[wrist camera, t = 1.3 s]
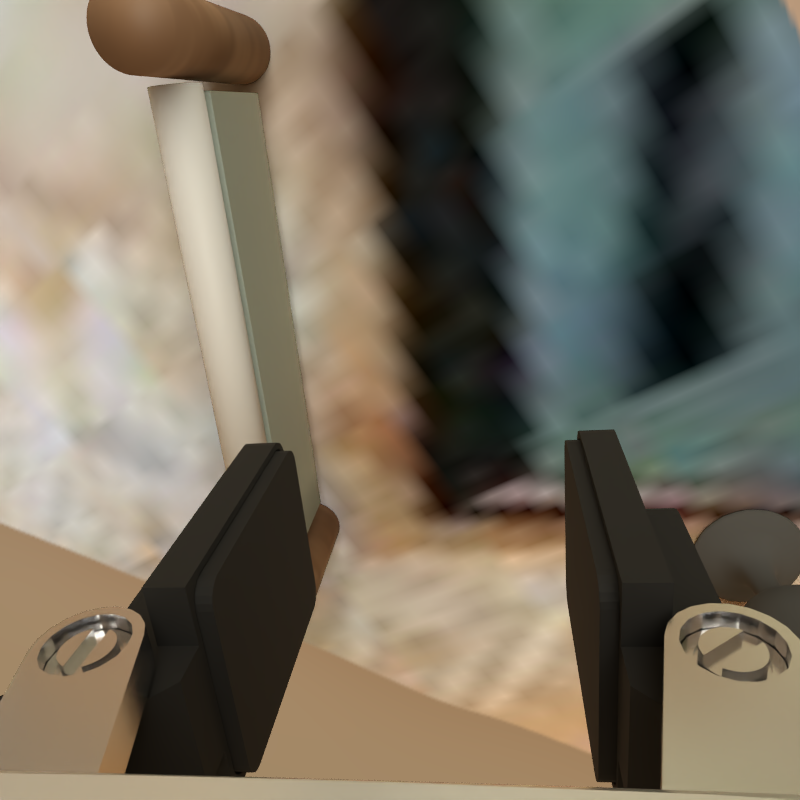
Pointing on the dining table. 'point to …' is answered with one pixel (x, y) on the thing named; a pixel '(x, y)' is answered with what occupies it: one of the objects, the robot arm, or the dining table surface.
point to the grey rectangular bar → (235, 270)
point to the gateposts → (200, 61)
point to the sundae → (755, 562)
